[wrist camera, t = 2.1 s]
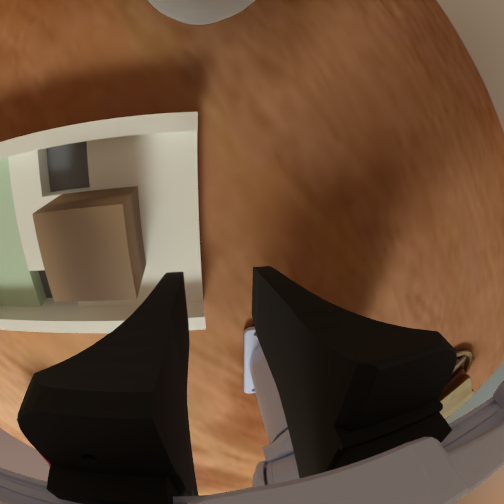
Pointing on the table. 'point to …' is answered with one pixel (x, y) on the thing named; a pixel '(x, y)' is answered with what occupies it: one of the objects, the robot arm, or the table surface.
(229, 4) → the cup
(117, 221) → the block
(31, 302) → the tray
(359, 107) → the table surface
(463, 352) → the toy sandwich meal
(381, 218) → the table surface
